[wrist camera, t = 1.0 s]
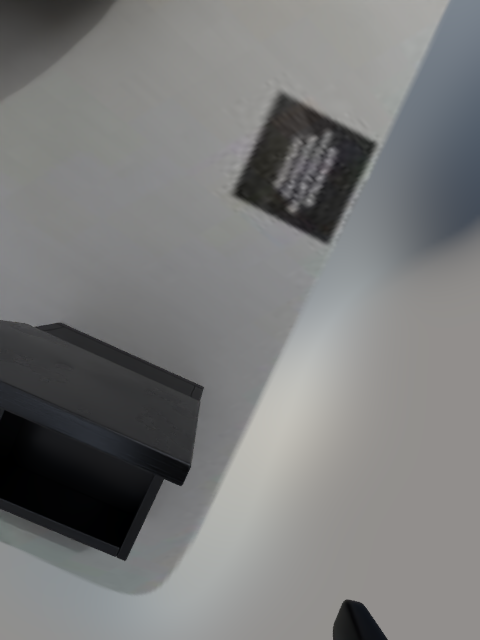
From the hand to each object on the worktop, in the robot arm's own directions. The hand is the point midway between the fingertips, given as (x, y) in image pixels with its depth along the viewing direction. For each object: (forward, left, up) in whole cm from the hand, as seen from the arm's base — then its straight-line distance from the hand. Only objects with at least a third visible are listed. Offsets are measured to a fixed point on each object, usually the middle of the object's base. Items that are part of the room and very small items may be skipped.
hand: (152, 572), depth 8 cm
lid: (+1, +5, -6) cm, 8 cm away
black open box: (-5, +5, -15) cm, 17 cm away
